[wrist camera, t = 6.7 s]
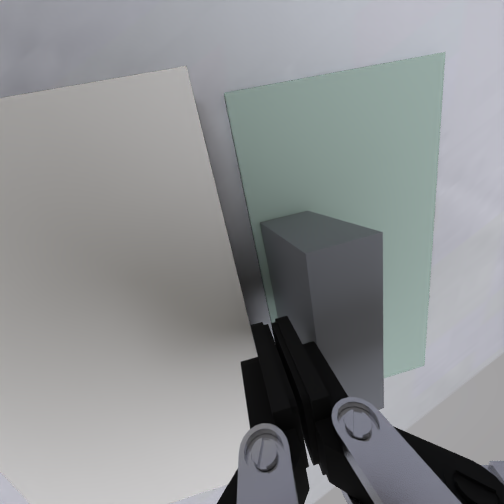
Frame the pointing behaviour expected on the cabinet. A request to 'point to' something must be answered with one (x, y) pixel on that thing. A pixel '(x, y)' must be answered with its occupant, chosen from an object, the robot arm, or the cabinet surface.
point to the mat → (352, 173)
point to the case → (332, 294)
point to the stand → (116, 298)
